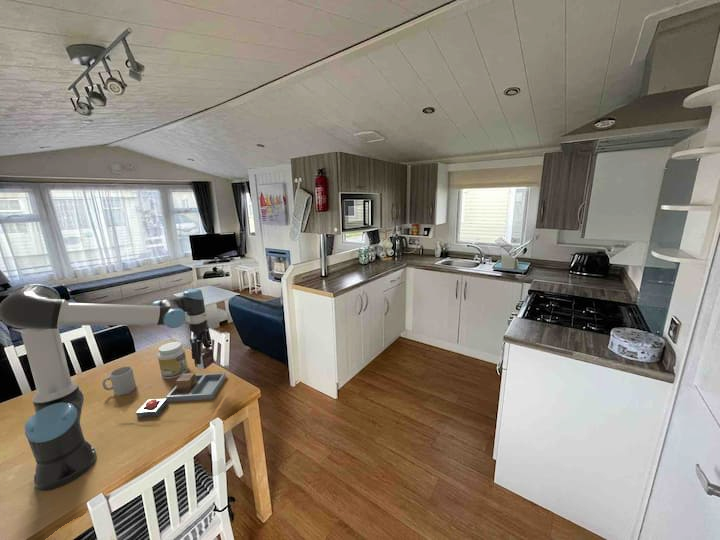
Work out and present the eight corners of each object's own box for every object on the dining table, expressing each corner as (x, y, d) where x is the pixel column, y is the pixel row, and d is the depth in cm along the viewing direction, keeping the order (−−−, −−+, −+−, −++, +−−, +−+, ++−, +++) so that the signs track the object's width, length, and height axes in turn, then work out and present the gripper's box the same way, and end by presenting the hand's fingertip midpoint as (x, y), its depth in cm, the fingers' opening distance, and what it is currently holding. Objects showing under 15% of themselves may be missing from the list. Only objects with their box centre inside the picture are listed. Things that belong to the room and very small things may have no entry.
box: (204, 360, 139) (202, 347, 137) (214, 362, 138) (212, 349, 136) (194, 367, 133) (192, 353, 132) (204, 369, 132) (202, 355, 130)
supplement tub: (185, 377, 149) (180, 349, 145) (159, 382, 145) (153, 354, 141) (190, 365, 160) (185, 339, 156) (165, 370, 156) (159, 343, 152)
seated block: (191, 392, 135) (188, 380, 134) (178, 393, 135) (175, 381, 133) (197, 384, 141) (195, 372, 139) (184, 385, 141) (182, 373, 139)
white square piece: (157, 418, 120) (155, 411, 120) (137, 420, 120) (136, 412, 119) (168, 405, 128) (166, 398, 127) (150, 407, 128) (148, 399, 127)
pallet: (212, 401, 131) (211, 394, 130) (166, 403, 130) (165, 397, 129) (226, 378, 148) (225, 372, 147) (186, 381, 146) (184, 375, 145)
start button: (154, 413, 122) (153, 405, 121) (145, 413, 122) (143, 406, 121) (160, 406, 126) (158, 399, 125) (151, 407, 126) (149, 399, 125)
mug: (137, 382, 145) (133, 364, 143) (135, 391, 138) (130, 372, 136) (107, 391, 139) (102, 371, 136) (103, 400, 132) (98, 381, 129)
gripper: (195, 330, 120) (202, 376, 126) (215, 312, 140) (221, 352, 146) (177, 331, 120) (185, 377, 125) (199, 313, 140) (206, 353, 145)
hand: (204, 364), depth 135 cm, fingers closed on box, 7 cm apart
